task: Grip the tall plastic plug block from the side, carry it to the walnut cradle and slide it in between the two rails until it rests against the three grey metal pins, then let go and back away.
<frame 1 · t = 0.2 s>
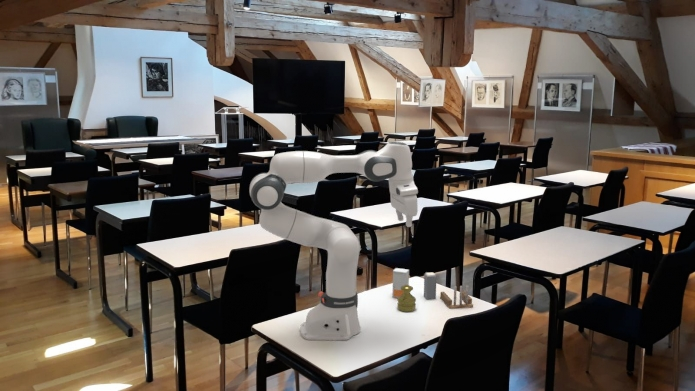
hand: (404, 223, 207), 39 cm above the table, tool pointing down, fingers open, 8 cm apart
plug: (429, 297, 242), on the table
skincare box: (400, 297, 243), on the table
cradle: (455, 302, 237), on the table
brass weight: (406, 309, 230), on the table
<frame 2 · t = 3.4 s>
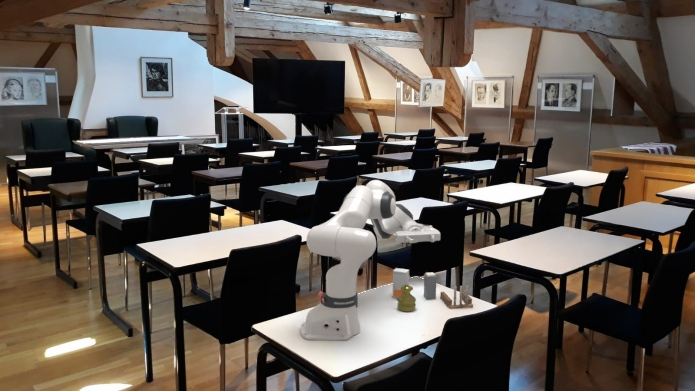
hand: (422, 240, 249), 22 cm above the table, tool horizontal, fingers open, 8 cm apart
nothing on the table moved.
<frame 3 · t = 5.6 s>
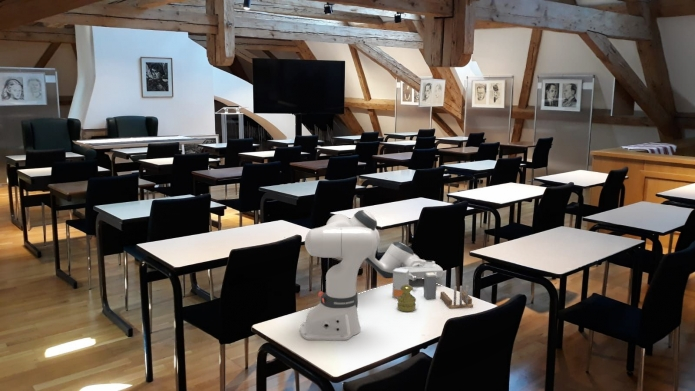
hand: (424, 278, 249), 6 cm above the table, tool horizontal, fingers open, 8 cm apart
nothing on the table moved.
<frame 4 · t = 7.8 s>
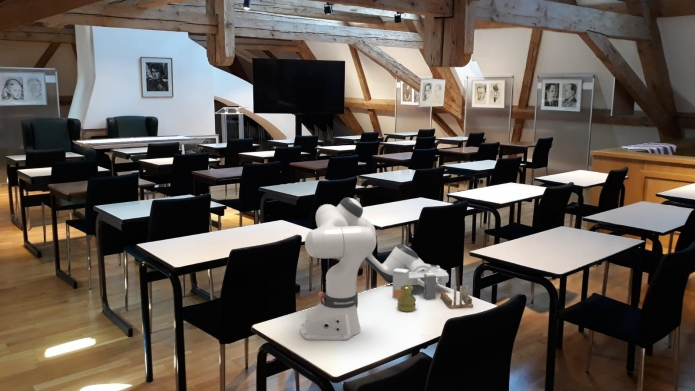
hand: (430, 284, 240), 6 cm above the table, tool horizontal, fingers closed on plug, 4 cm apart
plug: (429, 297, 242), on the table, touching gripper
everything else where it was.
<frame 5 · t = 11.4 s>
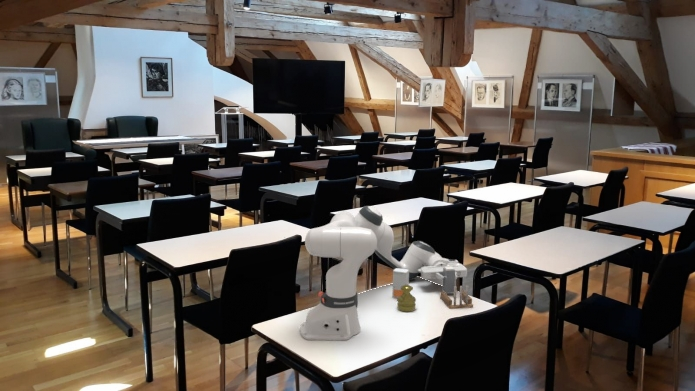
hand: (449, 278, 243), 8 cm above the table, tool horizontal, fingers closed on plug, 4 cm apart
plug: (448, 291, 245), point 2 cm above the table, touching gripper
everything else where it was.
when the fingers open (7 cm above the table, at t = 14.8 s): plug drops 1 cm, resting in cradle.
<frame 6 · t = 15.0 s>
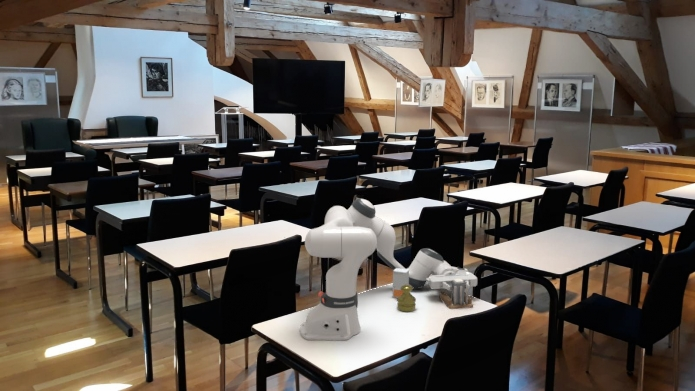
hand: (459, 287, 232), 7 cm above the table, tool horizontal, fingers open, 6 cm apart
plug: (457, 304, 234), resting in cradle
everything else where it was.
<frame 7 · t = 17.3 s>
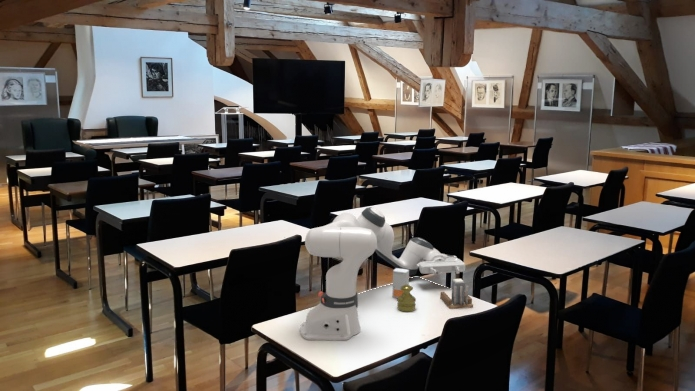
hand: (447, 272, 245), 10 cm above the table, tool horizontal, fingers open, 8 cm apart
nothing on the table moved.
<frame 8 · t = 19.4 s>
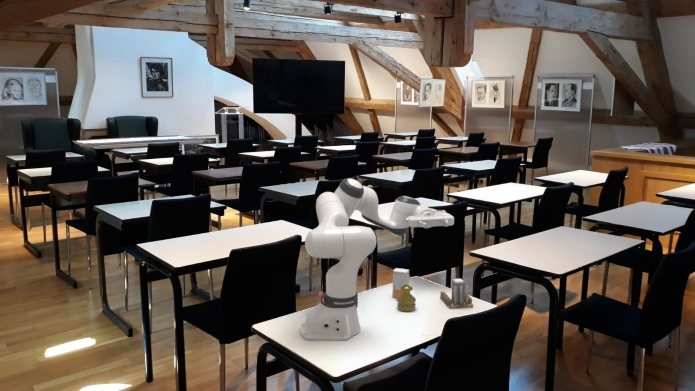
hand: (436, 225, 243), 30 cm above the table, tool horizontal, fingers open, 8 cm apart
nothing on the table moved.
at the end: plug 1.2 cm from the target spot on the cradle, point 0.0 cm above the cradle's base; plug tilted 0°; the gripper is holding nothing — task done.
